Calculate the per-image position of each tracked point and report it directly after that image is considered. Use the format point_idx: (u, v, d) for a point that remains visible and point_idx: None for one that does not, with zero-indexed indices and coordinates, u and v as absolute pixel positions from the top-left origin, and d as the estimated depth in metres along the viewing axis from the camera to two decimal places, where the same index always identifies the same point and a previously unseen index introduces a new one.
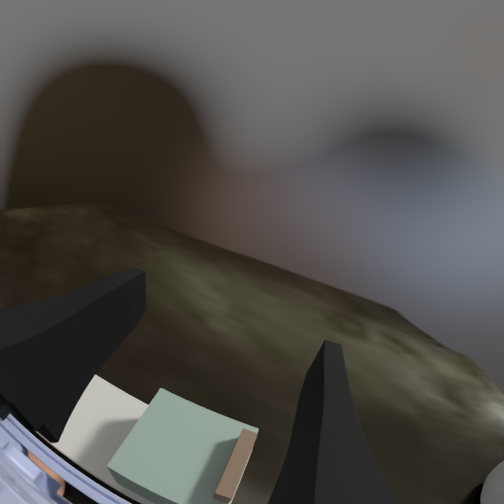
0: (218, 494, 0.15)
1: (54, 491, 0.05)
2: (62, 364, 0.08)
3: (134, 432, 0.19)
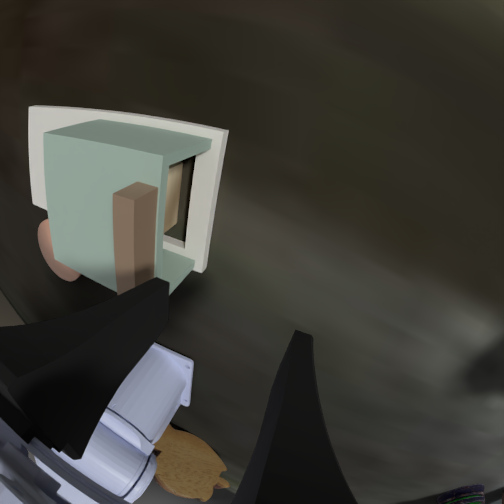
0: None
1: (54, 491, 0.05)
2: (88, 382, 0.07)
3: (49, 211, 0.16)
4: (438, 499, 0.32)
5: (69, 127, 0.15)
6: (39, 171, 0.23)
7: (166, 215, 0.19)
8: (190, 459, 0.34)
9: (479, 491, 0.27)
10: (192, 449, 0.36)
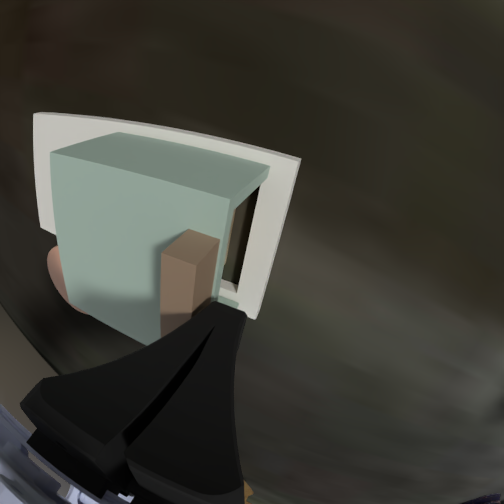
0: None
1: (54, 491, 0.05)
2: None
3: (61, 249, 0.14)
4: None
5: (83, 144, 0.12)
6: (47, 190, 0.20)
7: None
8: None
9: (496, 500, 0.24)
10: None
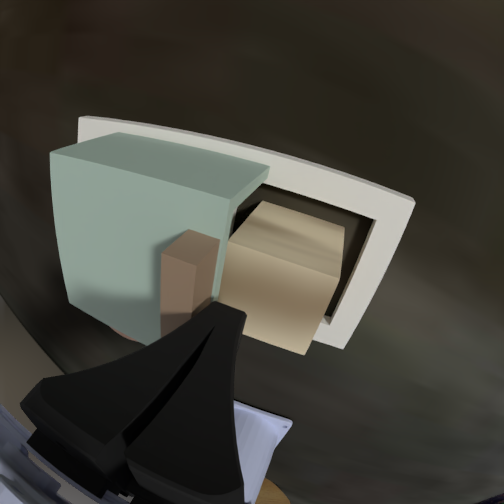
0: None
1: (54, 491, 0.05)
2: None
3: (61, 249, 0.14)
4: None
5: (83, 144, 0.12)
6: None
7: None
8: (258, 500, 0.30)
9: None
10: None
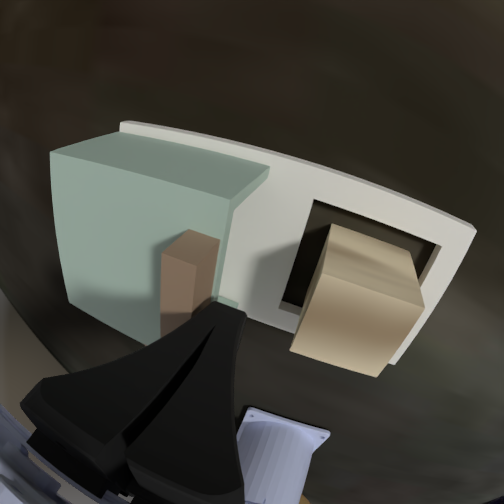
0: None
1: (54, 491, 0.05)
2: None
3: (61, 249, 0.14)
4: None
5: (83, 144, 0.12)
6: None
7: None
8: None
9: None
10: None
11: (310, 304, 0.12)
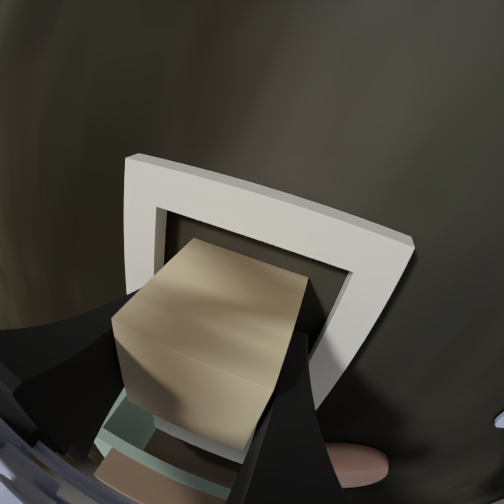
0: None
1: (54, 491, 0.05)
2: (92, 385, 0.07)
3: None
4: None
5: None
6: (219, 446, 0.18)
7: (263, 291, 0.10)
8: None
9: None
10: None
11: (165, 419, 0.09)
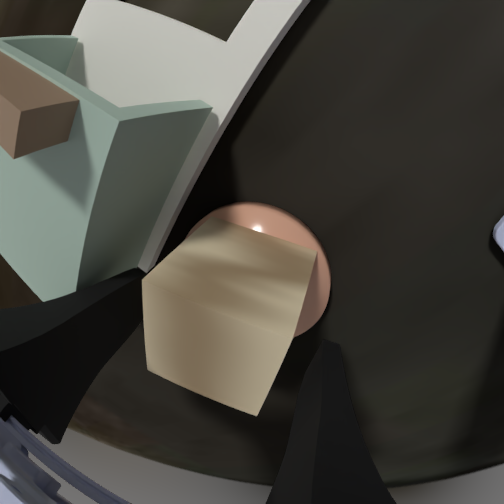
0: (18, 149, 0.05)
1: (54, 491, 0.05)
2: (64, 365, 0.08)
3: (15, 268, 0.10)
4: None
5: None
6: None
7: (277, 260, 0.11)
8: None
9: None
10: None
11: (183, 385, 0.10)
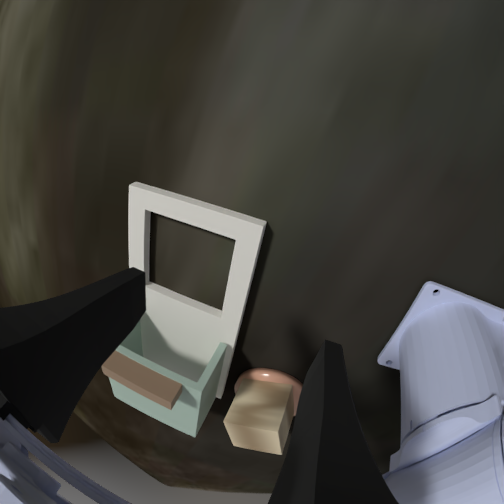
0: (171, 407, 0.19)
1: (54, 491, 0.05)
2: (62, 364, 0.08)
3: (158, 419, 0.25)
4: None
5: None
6: (187, 375, 0.29)
7: (273, 397, 0.24)
8: None
9: None
10: None
11: (250, 448, 0.23)
